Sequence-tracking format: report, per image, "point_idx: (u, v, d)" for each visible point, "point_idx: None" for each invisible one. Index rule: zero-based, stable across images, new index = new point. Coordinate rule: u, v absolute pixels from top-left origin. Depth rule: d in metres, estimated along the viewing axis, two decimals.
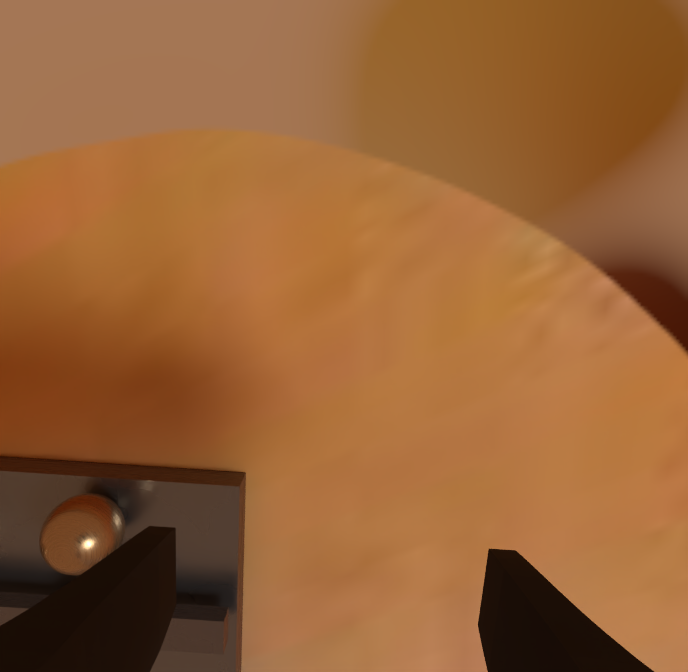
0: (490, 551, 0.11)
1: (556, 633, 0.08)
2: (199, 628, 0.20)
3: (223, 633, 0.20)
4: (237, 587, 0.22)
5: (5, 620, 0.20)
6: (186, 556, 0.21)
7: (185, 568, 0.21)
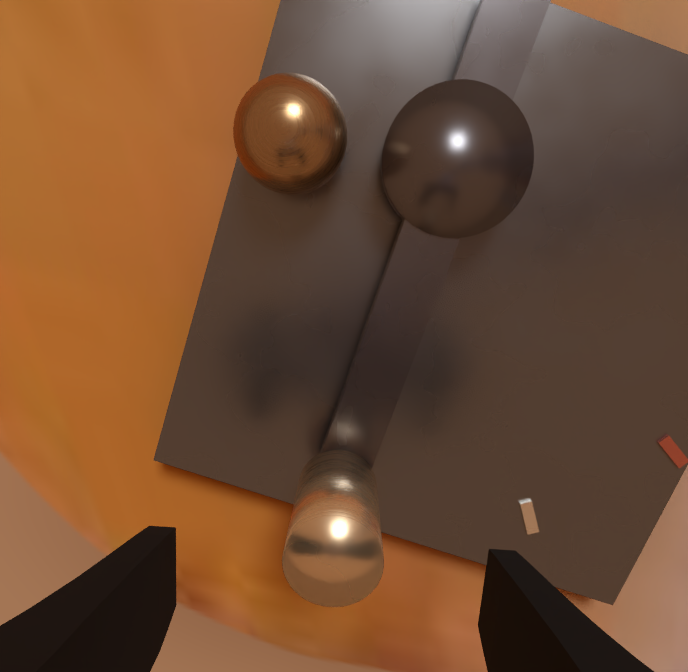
0: (490, 551, 0.11)
1: (556, 633, 0.08)
2: (498, 4, 0.12)
3: None
4: None
5: (397, 307, 0.14)
6: (398, 41, 0.14)
7: (417, 50, 0.14)
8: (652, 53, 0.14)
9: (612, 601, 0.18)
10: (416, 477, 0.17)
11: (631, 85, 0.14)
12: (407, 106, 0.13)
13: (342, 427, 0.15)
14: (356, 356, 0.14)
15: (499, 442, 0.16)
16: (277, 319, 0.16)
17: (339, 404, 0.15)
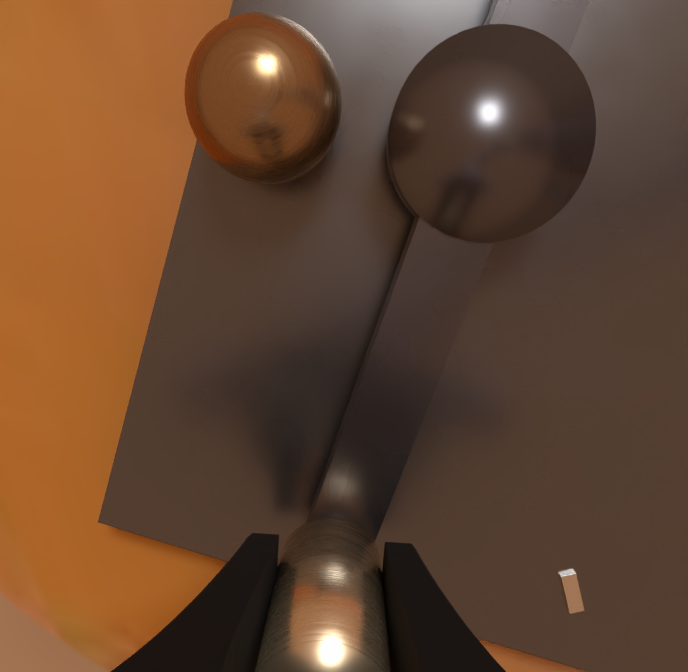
0: (385, 544, 0.11)
1: (414, 624, 0.08)
2: None
3: None
4: None
5: (408, 334, 0.10)
6: None
7: None
8: None
9: None
10: (430, 543, 0.13)
11: None
12: (424, 62, 0.09)
13: (336, 489, 0.11)
14: (354, 398, 0.11)
15: (535, 500, 0.13)
16: (253, 346, 0.12)
17: (332, 460, 0.11)
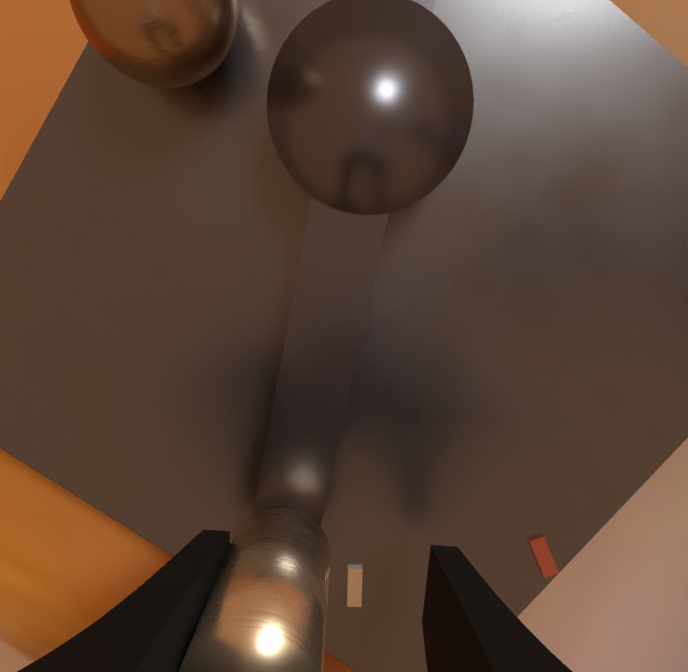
0: (431, 547, 0.11)
1: (477, 628, 0.08)
2: None
3: None
4: None
5: (319, 315, 0.10)
6: None
7: None
8: (658, 62, 0.11)
9: None
10: (231, 501, 0.13)
11: (621, 94, 0.11)
12: (289, 41, 0.09)
13: (274, 478, 0.11)
14: (277, 385, 0.11)
15: (343, 487, 0.13)
16: (103, 252, 0.12)
17: (265, 450, 0.11)
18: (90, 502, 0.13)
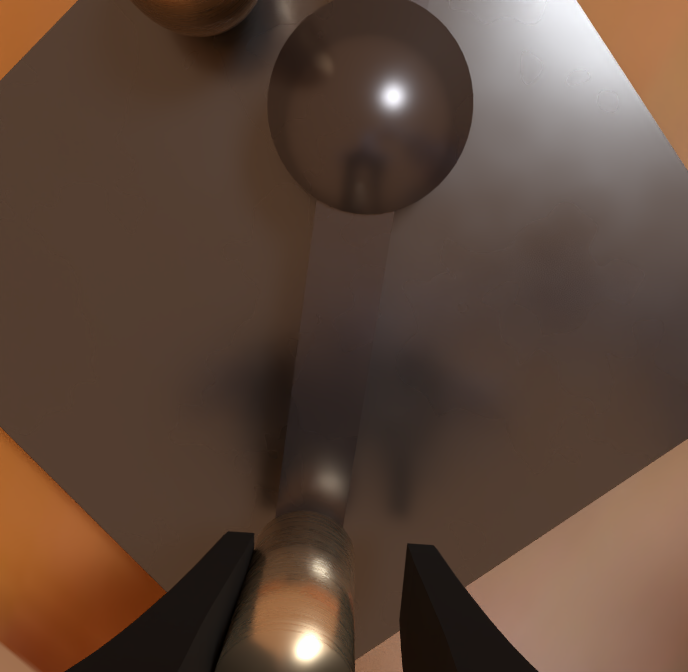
0: (407, 545, 0.11)
1: (444, 626, 0.08)
2: None
3: None
4: None
5: (331, 317, 0.10)
6: None
7: None
8: (652, 142, 0.11)
9: None
10: (144, 457, 0.13)
11: (611, 163, 0.11)
12: (287, 47, 0.09)
13: (294, 482, 0.11)
14: (293, 389, 0.11)
15: (257, 470, 0.13)
16: (75, 178, 0.12)
17: (284, 454, 0.11)
18: (0, 424, 0.13)
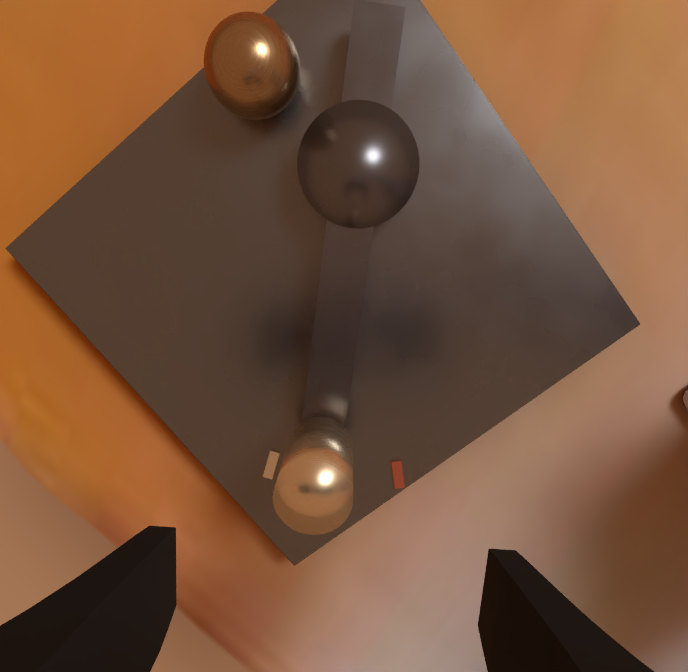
0: (490, 551, 0.11)
1: (556, 633, 0.08)
2: (362, 36, 0.15)
3: (373, 3, 0.15)
4: (452, 50, 0.17)
5: (336, 291, 0.17)
6: None
7: None
8: (536, 185, 0.18)
9: (295, 562, 0.21)
10: (205, 385, 0.19)
11: (510, 198, 0.18)
12: (308, 130, 0.16)
13: (313, 397, 0.18)
14: (312, 337, 0.17)
15: (281, 395, 0.19)
16: (170, 200, 0.18)
17: (307, 379, 0.18)
18: (110, 362, 0.19)
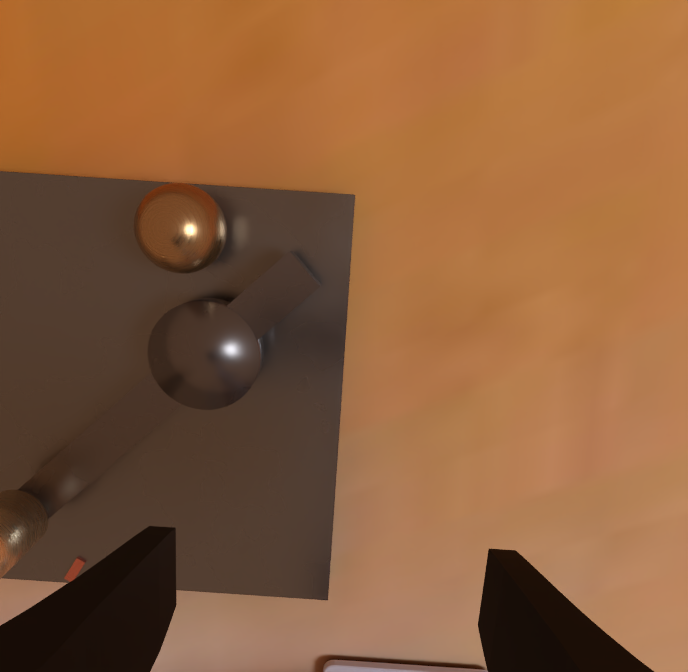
0: (490, 551, 0.11)
1: (556, 633, 0.08)
2: (275, 278, 0.17)
3: (300, 264, 0.17)
4: (345, 326, 0.19)
5: (118, 424, 0.18)
6: None
7: None
8: (330, 458, 0.20)
9: None
10: None
11: (307, 452, 0.20)
12: (186, 304, 0.17)
13: (41, 480, 0.19)
14: (75, 439, 0.18)
15: (30, 448, 0.20)
16: (56, 246, 0.18)
17: (47, 464, 0.19)
18: None
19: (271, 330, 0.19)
